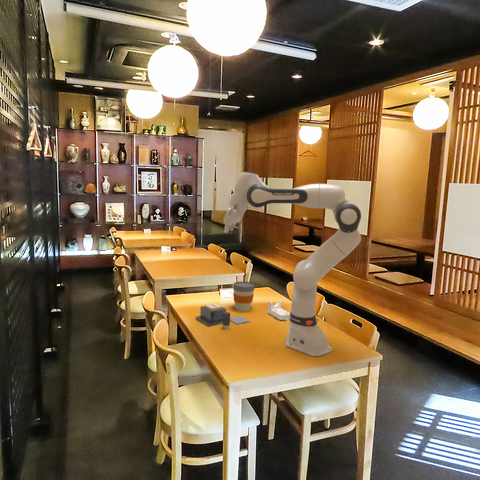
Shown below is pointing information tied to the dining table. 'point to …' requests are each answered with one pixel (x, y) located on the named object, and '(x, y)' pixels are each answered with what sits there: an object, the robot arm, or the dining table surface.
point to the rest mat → (239, 320)
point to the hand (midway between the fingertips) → (228, 231)
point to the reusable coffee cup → (243, 295)
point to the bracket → (278, 311)
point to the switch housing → (211, 316)
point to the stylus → (226, 320)
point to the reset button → (213, 307)
